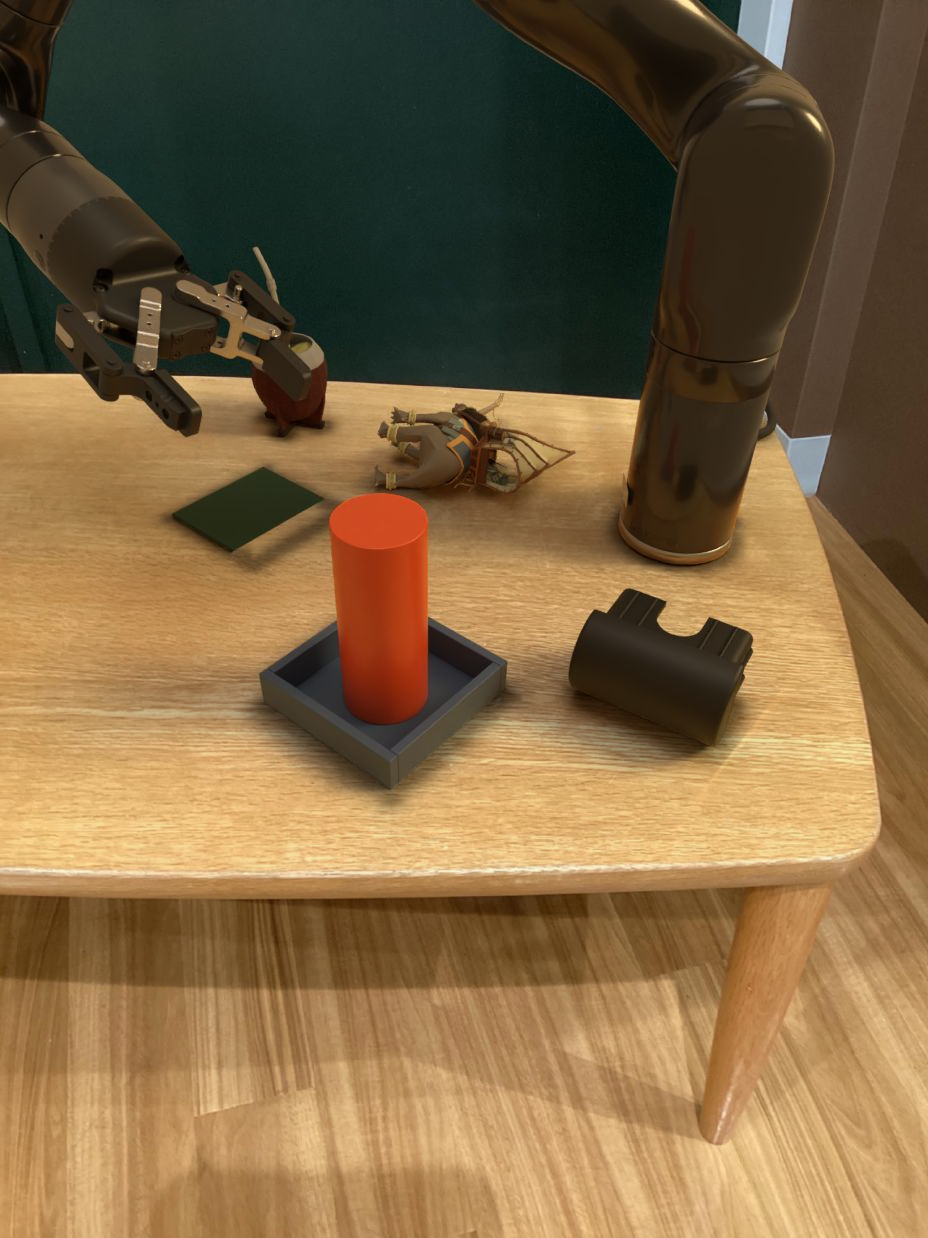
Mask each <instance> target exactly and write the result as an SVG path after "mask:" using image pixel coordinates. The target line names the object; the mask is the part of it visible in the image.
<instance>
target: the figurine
mask: <svg viewBox="0 0 928 1238" xmlns="http://www.w3.org/2000/svg"><path fill="white" fill-rule="evenodd" d="M504 398H505V392H501V393H499V396H498V399H496V400H495V401H494V402H493V403H492V404H490V405H488V406H485V407H484V408H481V409H479V410H478V409H477V408H476V407H474V406H470V405H469V406H468V405H466V404H465V403H462V402H461V403H457V402H455V404H454V406H453V407H452V408H451V412H450V411H439V412H436V413H434V412H433V413H432V412H431V413H417V411H414V409H412V410H408V412H407V411H404V410H401V409H399V408H398V407H396V406H392V408H393V411H390V414H392V415H391V416H389V418H390V419H391V420H393V421H391V422H389V425H388V423H386V421H385V420H384V419H383V420H382V422H381V423H380V426H379V429H378V431H377V432H376V435H377V436H379V439H386V440H387V441H388V442H390V444H389V446H391V447H395V448H397V451H398V452H399V455H400V456H401V455H402V454H403V455H405V456H406V455H407V456H408V457H410V458H411V459H413V460H414V461H417V462H419V465H418V468H417V469H416V470H415V471H413V472H412V473H411V474H407V475H397V474H396V473H395V472H393V471H392V470H391V471H390V472H389V473H388V472H386V474H384V473H383V472H382V471H381V470H380V467H379V465H378V464H377V463H375V464H374V480H375V485H374V487H378V486H382V485H384V486H385V489H387V490H389V491H392V489H393V490H394V489H396V488H409V489H416V490H417V489H419V490H425V489H432V488H436V487H438V486H440V485H442V484H443V485H444V486H447V485H451V484H453V483H455V482H456V481H457V480H459V479H460V478H461V477H463V476H464V475H465V474H467V473H468V472H469V474H468V475H467V476H465V477H464V478H463V479H462V480H460V481H459V482H457V484H455V485H454V486H453V488H454V489H456V488H457V487H458V486H465V487H468V488H469V489H468V492H471V491H472V490H473V489H474V488H475V487H476V486H478V485H481V486H483V487H487V488H489V489H490V490H492V491H495V492H496V493H499V494H501V495H504V496H508V495H512V494H514V493H515V492H516V491H518V490H519V489H520V488H521V486H522V485H525V484H528V483H529V482H530V481H532V480H533V479H535V478H537V477H539V475H541V474H542V473H543V472H544V471H545V470H547V469H549V468H552V467H553V466H555V465H557V464H559V463H561V462H563V461H564V460H567V459H568V458H570V457H572V456H573V455H575V454H576V451H575V450H570V449H565V448H562V447H558V446H554V443H551V444H549V443H547V442H545V441H543V440H541V439H539V438H538V437H536V436H533V435H532V434H530V433H528V432H524V431H521V430H520V429H519V430H518V429H513V428H504V427H503V428H502V427H500V425H501V424H502V422H503V418H497V417H496V416H495V409H496V408H499V407H500V405H501V404H502V403H503V401H504ZM491 412H492V416H493V418H494V420H493V421H491V420H490V418H489V417H488V416H487V414H489V413H491ZM401 424H406V425H407V426H401ZM415 424H421V425H415ZM411 443H412V444H417V443H419V448H418V447H416V446H413V445H412V444H411ZM498 451H501V452H505V453H506V454H509V455H510V456H511V459H512V460H513V461H514V462H513V463H515V466H516V467H514V468H511V467H510V468H509V467H507V466H505V465H503V464H501V463H499V462H497V458H498ZM497 465H498V466H501V469H502V470H515V471H517V476H510V475H509V474H506V473H502V472H501V471H500V470H499V468H498V466H497ZM470 478H472V479H470ZM464 481H466V482H469V483H474V484H469V483H464Z"/></svg>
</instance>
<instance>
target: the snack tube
mask: <svg viewBox="0 0 928 1238" xmlns="http://www.w3.org/2000/svg"><path fill="white" fill-rule="evenodd" d="M328 529H329V540H330V541H329V542H330V552H331V553H330V554H331V564H332V565H331V566H332V577H333V588H334V589H333V590H334V600H335V613H336V620H337V625H338V637H339V649H340V661H341V673H342V685H343V697H344V702H345V705H346V707H347V708H348V710H349V711H350V712H351V713H352V714H353V715H354V716H356V717H357V718H359V719H361V720H363V721H365V722H368V723H372V724H379V725H390V724H396V723H400V722H403V721H406V720H408V719H410V718H412V717H414V716H415V715H416V714H418V713H419V712H420V711H421V709H422V708H423V707H424V705H425V703H426V701H427V697H428V617H429V518H428V515H427V512H426V510H425V509H424V508H423V507H422V506H421V505H420V504H419V503H418V502H416V501H414V500H413V499H410V498H408V497H406V496H402V495H399V494H394V493H385V492H384V493H383V492H380V493H379V492H378V493H377V492H376V493H375V492H374V493H367V494H361V495H357V496H354V497H352V498H351V497H350V498H349V499H346V500H345V501H342V502H341V503H340V504H339V505H337V506H336V507H335V508H334V509H333V511H331V514H330V516H329V519H328Z"/></svg>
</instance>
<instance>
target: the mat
mask: <svg viewBox="0 0 928 1238" xmlns="http://www.w3.org/2000/svg"><path fill="white" fill-rule="evenodd" d="M324 500H326V498H325V497H323V496H321V495H319V494H318V493H315V492H313V491H311V490H310V489H307V488H305V487H304V486H302V485H300V484H298V483H296V482H294V481H292V480H290V479H289V478H286V477H284V476H282V475H281V474H279V473H276V472H274V471H273V470H272V469H269V468H267V467H265V466H262V467H260V468H258V469H256V470H254V471H252V472H250V473H248V474H246V475H244V476H242V477H240V478H239V479H237V480H234V481H232V482H231V483H229V484H227V485H225V486H223V487H221V488H219V489H217V490H214V491H213V492H211V493H209V494H207V495H205V496H203V497H201V498H200V499H198V500H195V501H194V502H192V503H189V504H188V505H186V506H184V507H182V508H180V509H178V510H176V511H173V512H172V513H171V514H172V517H173V518H174V519H175V520H176V521H178V522H180V523H182V524H184V525H185V526H187V527H189V528H190V529H192V530H194V531H196V532H197V533H198V534H200V535H202V536H204V537H205V538H207V539H209V540H210V541H212V542H214V543H215V544H217V545H219V546H220V547H222V548H224V549H225V550H227V551H229V552H231V553H233V552H235V551H237V550H239V549H240V548H242V547H244V546H245V545H247V544H249V543H250V542H252V541H254V540H255V539H258V538H260V537H261V536H263V535H264V534H266V533H268V532H270V531H271V530H273V529H275V528H277V527H278V526H280V525H283V524H284V523H285V522H287V521H289V520H291V519H293V518H294V517H296V516H298V515H299V514H301V513H303V512H305V511H307V510H308V509H310V508H312V507H313V506H315V505H318V504H319V503H321V502H322V501H324Z"/></svg>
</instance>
